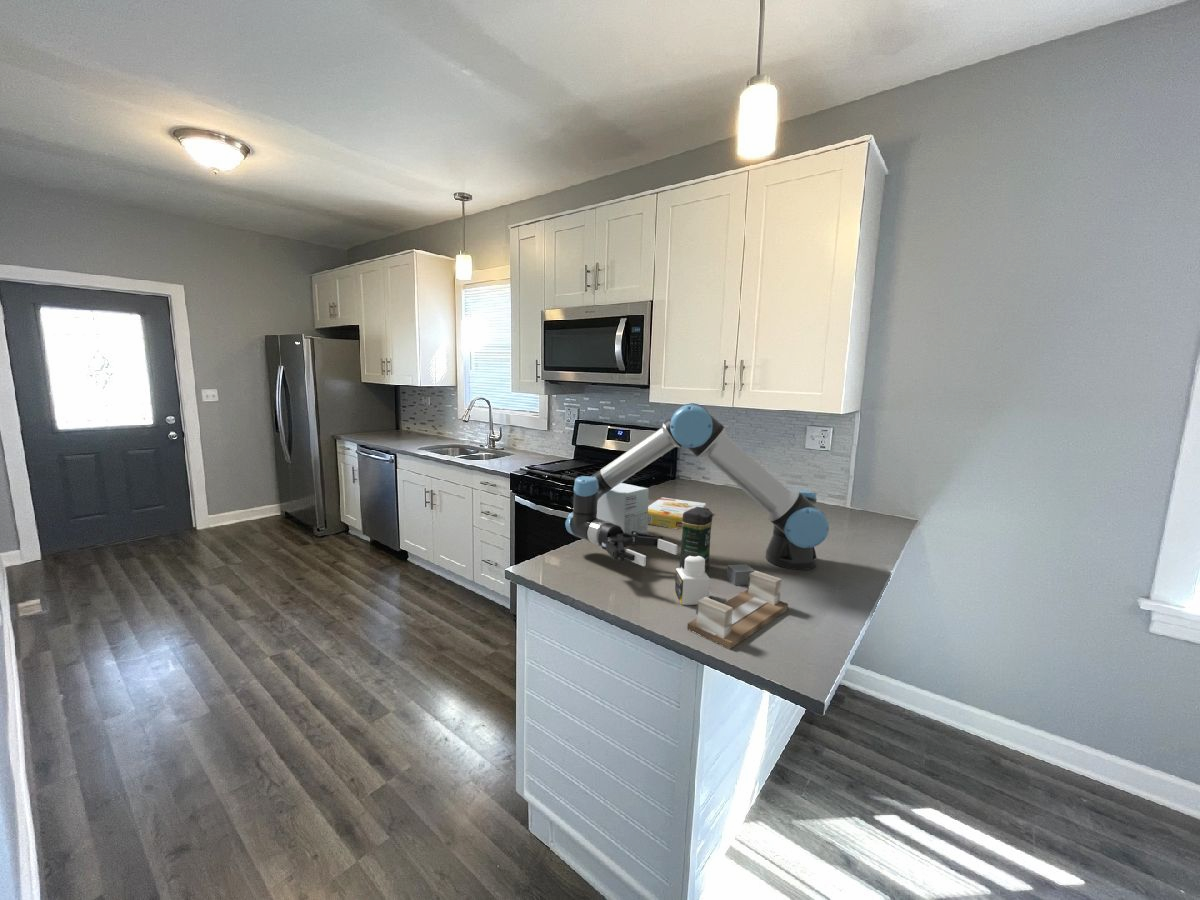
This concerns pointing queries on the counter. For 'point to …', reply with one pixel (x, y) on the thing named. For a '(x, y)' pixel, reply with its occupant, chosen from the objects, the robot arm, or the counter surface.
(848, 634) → the counter surface
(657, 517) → the cereal box
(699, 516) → the coffee jar
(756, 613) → the rail board
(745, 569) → the gray cube
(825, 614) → the counter surface
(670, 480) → the counter surface
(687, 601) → the medicine bottle
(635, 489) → the supplement box
